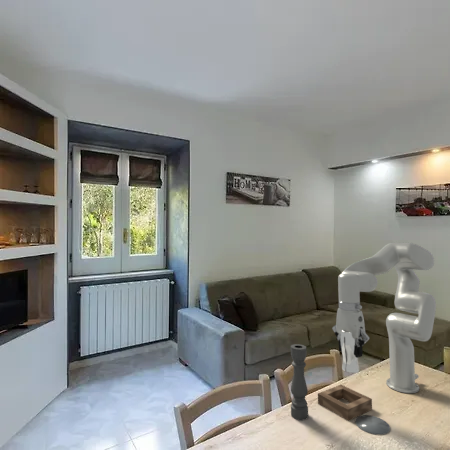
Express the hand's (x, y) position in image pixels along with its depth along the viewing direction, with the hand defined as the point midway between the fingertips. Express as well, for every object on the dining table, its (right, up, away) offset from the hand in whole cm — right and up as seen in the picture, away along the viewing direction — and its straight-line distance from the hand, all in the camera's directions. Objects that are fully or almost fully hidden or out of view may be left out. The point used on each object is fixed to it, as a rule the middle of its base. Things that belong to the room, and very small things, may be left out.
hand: (350, 353), depth 121 cm
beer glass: (0, -6, 0) cm, 6 cm away
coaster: (+4, -21, -10) cm, 24 cm away
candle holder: (-20, -22, -3) cm, 30 cm away
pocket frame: (-1, -22, +2) cm, 22 cm away
